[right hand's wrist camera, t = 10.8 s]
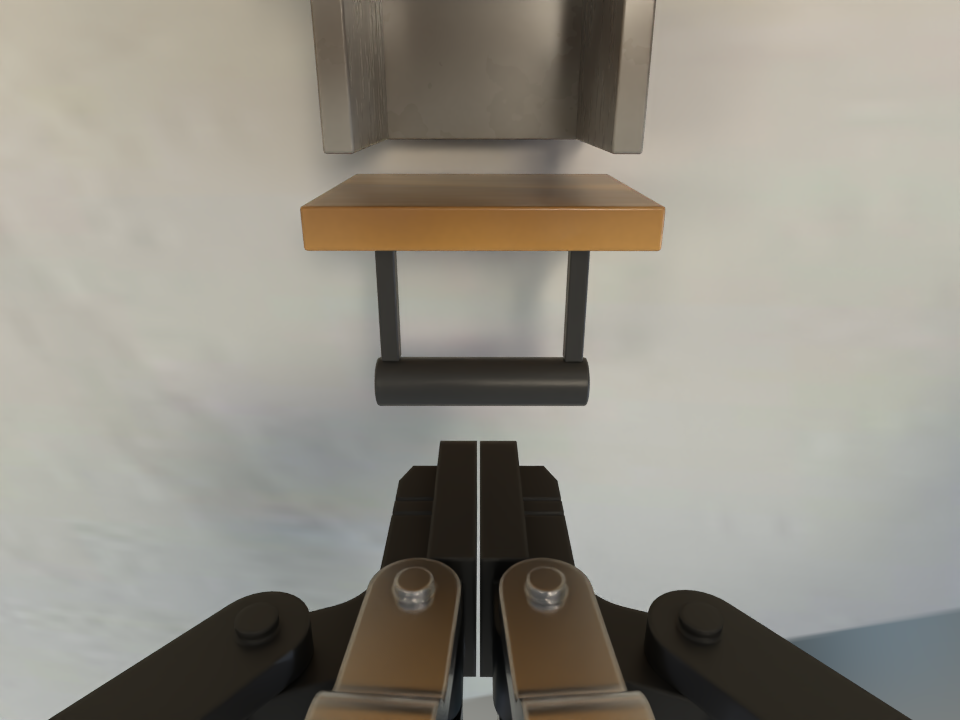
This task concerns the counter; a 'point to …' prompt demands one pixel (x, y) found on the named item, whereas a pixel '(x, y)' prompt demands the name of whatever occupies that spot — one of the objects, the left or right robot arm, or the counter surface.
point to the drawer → (482, 197)
